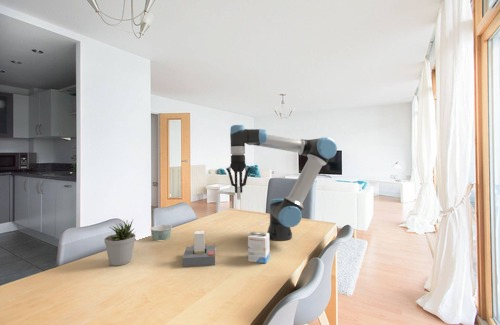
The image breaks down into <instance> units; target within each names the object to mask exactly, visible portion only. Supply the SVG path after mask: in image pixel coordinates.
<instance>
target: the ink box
mask: <svg viewBox="0 0 500 325" xmlns="http://www.w3.org/2000/svg"><path fill="white" fill-rule="evenodd" d="M249 233H250V234H249V235H248V236H247V261H248V262H250V263H251V262H252V263H259V264H267V263H268V260H269V259H270V257H271V256H270V254H271V252H270V246H271V245H270V239H269V233H267V232H264V231H263V232H262V231H261V232H260V231H249Z"/></svg>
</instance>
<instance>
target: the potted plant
mask: <svg viewBox="0 0 500 325" xmlns="http://www.w3.org/2000/svg"><path fill="white" fill-rule="evenodd" d="M128 221H129V220H128V219H126V221H124V220H123V223H124V225H123V224H122V223H120V222H119V223H115V225H116V226H113V225H111V226H109V228H110V229H111V230H112V231H114V232H115V233H114V234H111V235H108V236H106V237H105V238H104V244H105V249H106V253H107V258H108V263H109V265H110V266H114V267H117V266H123V265H127V264H128V263H130V262H131V261H132V258H133V251H134V245H135V240H136V234H135V233H136V232H137V231H134V229H135V228H133V229H132V228H131V227H132V224H133V221H134V219H132V220H131V222H130V223H127V222H128ZM119 226H120V227H119ZM133 231H134V232H133ZM132 232H133V233H132Z"/></svg>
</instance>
